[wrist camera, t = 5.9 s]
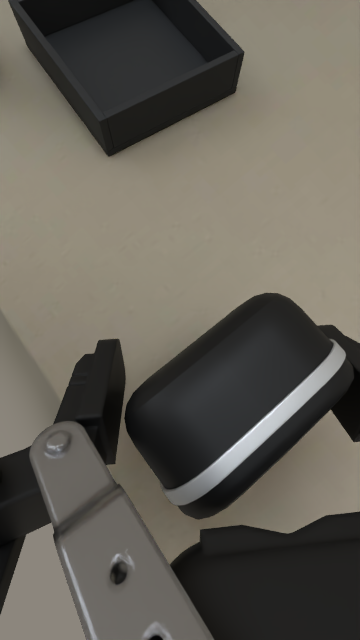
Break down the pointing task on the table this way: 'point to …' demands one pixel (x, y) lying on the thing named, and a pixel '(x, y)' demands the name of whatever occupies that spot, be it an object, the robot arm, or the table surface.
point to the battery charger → (235, 402)
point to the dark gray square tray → (131, 61)
